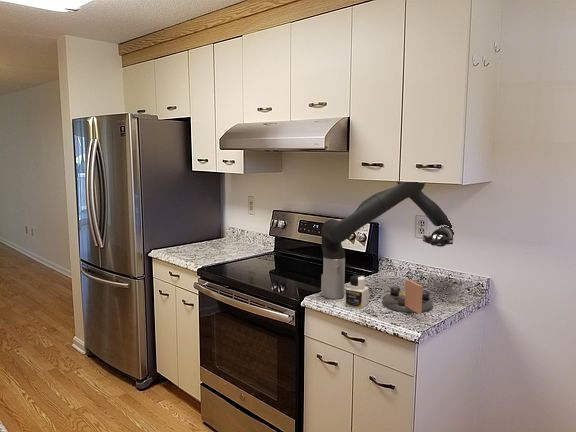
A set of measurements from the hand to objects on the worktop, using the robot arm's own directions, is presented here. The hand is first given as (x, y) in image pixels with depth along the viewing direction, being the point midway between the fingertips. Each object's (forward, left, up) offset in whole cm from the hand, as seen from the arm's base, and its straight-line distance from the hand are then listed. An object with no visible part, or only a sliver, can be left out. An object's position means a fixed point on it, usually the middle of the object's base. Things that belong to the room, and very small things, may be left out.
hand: (433, 243), depth 187 cm
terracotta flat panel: (-5, -16, -23) cm, 29 cm away
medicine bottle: (-26, -16, -26) cm, 40 cm away
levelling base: (-8, -6, -26) cm, 27 cm away
